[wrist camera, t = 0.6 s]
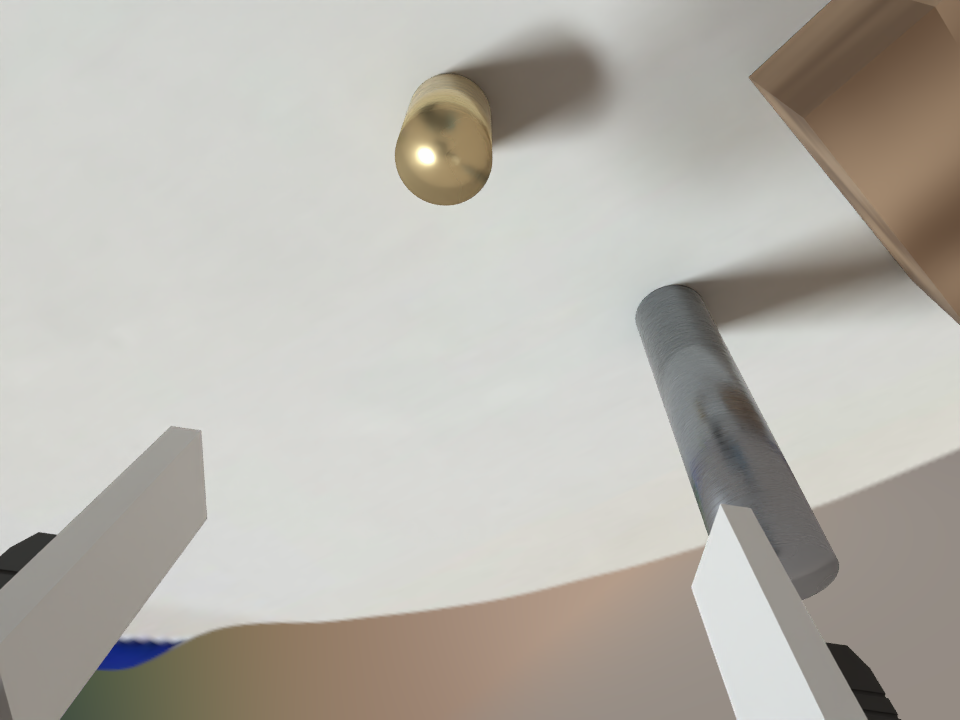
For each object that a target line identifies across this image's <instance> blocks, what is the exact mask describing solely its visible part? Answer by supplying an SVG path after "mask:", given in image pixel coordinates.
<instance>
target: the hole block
mask: <svg viewBox="0 0 960 720" xmlns="http://www.w3.org/2000/svg"><path fill="white" fill-rule="evenodd" d="M749 79H750V80H751V81H752V82H753V83H754V85H755V86H756V87H757V88H758V90H759V91H760V92H761V93H762V95H763V96H764V97H765V98H766V100H767V101H768V102H769V103H770V105H771V106H772V107H773V108H774V110H775V111H776V112H777V113H778V115H779V116H780V117H781V118H782V120H783V121H784V122H785V123H786V124H787V126H788V127H789V128H790V129H791V131H792V132H793V133H794V134H795V136H796V137H797V138H798V139H799V141H800V142H801V143H802V144H803V146H804V147H805V148H806V149H807V151H808V152H809V153H810V154H811V156H812V157H813V158H814V159H815V161H816V162H817V163H818V164H819V165H820V167H821V168H822V169H823V170H824V172H825V173H826V174H827V175H828V177H829V178H830V179H831V180H832V182H833V183H834V184H835V185H836V187H837V188H838V189H839V190H840V192H841V193H842V194H843V195H844V197H845V198H846V199H847V200H848V202H849V203H850V204H851V205H852V206H853V208H854V209H855V210H856V211H857V213H858V214H859V215H860V216H861V218H862V219H863V220H864V221H865V223H866V224H867V225H868V226H869V228H870V229H871V230H872V231H873V233H874V234H875V235H876V236H877V238H878V239H879V240H880V241H881V242H882V244H883V245H884V246H885V247H886V249H887V250H888V251H889V252H890V254H891V255H892V256H893V257H894V259H895V260H896V261H897V262H898V264H899V265H900V266H901V267H902V269H903V270H904V271H905V272H906V274H907V275H908V276H909V277H910V279H911V280H912V281H913V282H914V283H915V284H916V285H917V286H919V287H920V288H921V289H922V290H923V291H924V292H925V293H926V294H927V295H928V296H929V297H930V298H931V299H933V300H934V301H935V302H936V303H937V304H938V305H939V306H940V307H941V308H942V309H943V310H944V311H945V312H946V313H948V314H949V315H950V316H951V317H952V318H953V319H954V320H955V321H956V322H957V323H958V324H959V325H960V0H831V1H830V2H829V3H828V4H827V5H826V6H825V7H824V8H823V9H822V10H821V11H820V12H819V13H817V14H816V15H815V16H814V17H813V18H812V19H811V20H810V21H809V22H808V23H807V24H806V25H805V26H803V27H802V28H801V29H800V30H799V31H798V32H797V33H796V34H795V35H794V36H793V37H792V38H790V39H789V40H788V41H787V42H786V43H785V44H784V45H783V46H782V47H781V48H780V49H779V50H778V51H776V52H775V53H774V54H773V55H772V56H771V57H770V58H769V59H768V60H767V61H766V62H765V63H763V64H762V65H761V66H760V67H759V68H758V69H757V70H756V71H755V72H754V73H753V74H752V75H751V76H749Z"/></svg>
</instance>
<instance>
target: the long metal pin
mask: <svg viewBox="0 0 960 720" xmlns="http://www.w3.org/2000/svg"><path fill="white" fill-rule="evenodd" d="M635 320H636V325H637V328H638V331H639V334H640V337H641V340H642V343H643V346H644V349H645V352H646V355H647V357H648V360H649V363H650V366H651V369H652V372H653V375H654V378H655V381H656V384H657V387H658V390H659V393H660V395H661V398H662V401H663V404H664V407H665V410H666V413H667V416H668V419H669V422H670V425H671V428H672V431H673V433H674V436H675V439H676V442H677V445H678V448H679V451H680V454H681V457H682V460H683V463H684V466H685V469H686V471H687V474H688V477H689V480H690V483H691V486H692V489H693V492H694V495H695V498H696V501H697V504H698V507H699V509H700V512H701V515H702V518H703V521H704V524H705V527H706V530H707V533H708V536H709V535H710V532H711V529H712V526H713V523H714V520H715V518H716V515H717V512H718V509H719V506H720V504H726V505H733V506H740V507H747V508H751V509H752V511H753V513H754V515H755V517H756V518H757V520H758V522H759V524H760V526H761V528H762V529H763V531H764V533H765V535H766V537H767V538H768V540H769V542H770V544H771V546H772V547H773V549H774V551H775V553H776V555H777V556H778V558H779V560H780V562H781V564H782V565H783V567H784V569H785V571H786V573H787V575H788V576H789V578H790V580H791V582H792V584H793V585H794V587H795V589H796V591H797V593H798V594H799V596H800V598H801V600H804V599H806V598H809V597H811V596H813V595H815V594H817V593H818V592H820V591H822V590H823V589H824V588H826V587H827V586H828V585H829V584H830V583H831V582H832V581H833V580H834V579H835V577H836V576H837V573H838V570H839V562H838V559H837V558H836V556H835V554H834V552H833V550H832V548H831V546H830V544H829V542H828V540H827V539H826V536H825V535H824V533H823V531H822V529H821V527H820V525H819V523H818V521H817V519H816V517H815V516H814V513H813V511H812V510H811V508H810V506H809V504H808V502H807V500H806V498H805V496H804V494H803V492H802V490H801V488H800V487H799V485H798V483H797V481H796V479H795V477H794V475H793V473H792V471H791V469H790V467H789V465H788V463H787V462H786V460H785V458H784V456H783V454H782V452H781V450H780V448H779V446H778V444H777V442H776V440H775V438H774V437H773V435H772V433H771V431H770V429H769V427H768V425H767V423H766V421H765V419H764V417H763V415H762V414H761V412H760V410H759V408H758V406H757V404H756V402H755V400H754V398H753V396H752V394H751V392H750V390H749V389H748V387H747V385H746V383H745V381H744V379H743V377H742V375H741V373H740V371H739V369H738V367H737V365H736V364H735V362H734V360H733V358H732V356H731V354H730V352H729V350H728V348H727V346H726V344H725V342H724V341H723V339H722V337H721V335H720V333H719V331H718V329H717V327H716V325H715V323H714V321H713V319H712V317H711V316H710V314H709V312H708V310H707V308H706V306H705V304H704V302H703V300H702V298H701V297H700V295H699V294H698V293H697V292H696V291H694V290H693V289H691V288H689V287H685V286H680V285H672V286H666V287H662V288H660V289H657V290H655V291H653V292H652V293H650V294H649V295H648V296H646V297H645V298H644V299H643V301H642V302H641V303H640V305H639V307H638V309H637V311H636V317H635Z"/></svg>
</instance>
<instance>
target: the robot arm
mask: <svg viewBox="0 0 960 720" xmlns="http://www.w3.org/2000/svg"><path fill="white" fill-rule="evenodd" d="M206 519H207V510H206V495H205V480H204V465H203V450H202V435H201V430H194V429H187V428H180V427H173V426H171V427H170V428H169V429H168V430H167V431H166V432H164V433H163V434H162V435H161V436H160V437H159V438H158V439H157V440H156V441H155V442H154V443H153V444H152V445H151V446H150V447H149V448H148V449H147V450H146V451H145V452H144V453H143V454H141V455H140V456H139V457H138V458H137V459H136V460H135V461H134V462H133V463H132V464H131V465H130V466H129V467H128V468H127V469H126V470H125V471H124V472H123V473H122V474H121V475H120V476H118V477H117V478H116V479H115V480H114V481H113V482H112V483H111V484H110V485H109V486H108V487H107V488H106V489H105V490H104V491H103V492H102V493H101V494H100V495H99V496H98V497H96V498H95V499H94V500H93V501H92V502H91V503H90V504H89V505H88V506H87V507H86V508H85V509H84V510H83V511H82V512H81V513H80V514H79V515H78V516H77V517H76V518H75V519H73V520H72V521H71V522H70V523H69V524H68V525H67V526H66V527H65V528H64V529H63V530H62V531H61V532H60V533H59V534H58V535H54V534H47V533H40V532H38V533H36V534H35V535H33V536H31V537H29V538H27V539H25V540H23V541H22V542H20V543H18V544H16V545H14V546H12V547H10V548H9V549H8V550H7V551H6V552H5V553H3V554H2V555H1V556H0V720H59V719H60V718H61V717H62V715H63V714H64V713H65V711H66V710H67V709H68V707H69V706H70V704H71V703H72V702H73V700H74V699H75V698H76V696H77V695H78V694H79V692H80V691H81V690H82V688H83V687H84V685H85V684H86V683H87V681H88V680H89V679H90V677H91V676H92V675H93V673H94V672H95V671H96V669H97V668H98V666H99V665H100V664H101V662H102V661H103V660H104V658H105V657H106V656H107V654H108V653H109V651H110V650H111V649H112V647H113V646H114V645H115V643H116V642H117V641H118V639H119V638H120V637H121V635H122V634H123V632H124V631H125V630H126V628H127V627H128V626H129V624H130V623H131V622H132V620H133V619H134V617H135V616H136V615H137V613H138V612H139V611H140V609H141V608H142V607H143V605H144V604H145V602H146V601H147V600H148V598H149V597H150V596H151V594H152V593H153V592H154V590H155V589H156V588H157V586H158V585H159V583H160V582H161V581H162V579H163V578H164V577H165V575H166V574H167V573H168V571H169V570H170V568H171V567H172V566H173V564H174V563H175V562H176V560H177V559H178V558H179V556H180V555H181V554H182V552H183V551H184V549H185V548H186V547H187V545H188V544H189V543H190V541H191V540H192V539H193V537H194V536H195V534H196V533H197V532H198V530H199V529H200V528H201V526H202V525H203V524H204V522H205V521H206ZM691 588H692V591H693V594H694V597H695V600H696V603H697V606H698V608H699V611H700V614H701V617H702V620H703V623H704V626H705V629H706V632H707V634H708V638H709V640H710V643H711V646H712V649H713V652H714V655H715V658H716V661H717V664H718V666H719V669H720V672H721V675H722V678H723V681H724V684H725V687H726V690H727V692H728V695H729V698H730V701H731V704H732V707H733V710H734V713H735V716H736V719H737V720H901V719H898V717H897V715H898V714H897V712H896V710H895V709H894V707H893V705H892V704H891V702H890V700H889V699H888V698H886V697H885V692H884V691H883V689H882V687H881V686H880V684H879V682H878V681H877V679H876V677H875V676H874V674H873V673H872V671H871V669H870V668H869V667H868V666H867V665H866V664H865V663H864V662H863V661H862V660H861V659H860V658H859V657H858V656H857V655H856V654H855V653H854V652H853V651H852V650H851V649H850V648H849V647H848V646H846V645H839V644H831V643H825V641H824V640H823V638H822V636H821V634H820V632H819V631H818V629H817V627H816V625H815V623H814V622H813V620H812V618H811V616H810V614H809V613H808V611H807V609H806V607H805V605H804V604H803V602H802V600H801V598H800V596H799V594H798V593H797V591H796V589H795V587H794V585H793V584H792V582H791V580H790V578H789V576H788V575H787V573H786V571H785V569H784V567H783V565H782V564H781V562H780V560H779V558H778V556H777V555H776V553H775V551H774V549H773V547H772V546H771V544H770V542H769V540H768V538H767V537H766V535H765V533H764V531H763V529H762V528H761V526H760V524H759V522H758V520H757V518H756V517H755V515H754V513H753V511H752V509H751V508H747V507H740V506H733V505H726V504H720V506H719V509H718V512H717V515H716V518H715V520H714V523H713V526H712V529H711V532H710V535H709V538H708V541H707V543H706V546H705V549H704V552H703V555H702V558H701V561H700V564H699V566H698V569H697V572H696V575H695V578H694V581H693V584H692V587H691Z"/></svg>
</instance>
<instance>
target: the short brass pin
mask: <svg viewBox="0 0 960 720" xmlns="http://www.w3.org/2000/svg"><path fill="white" fill-rule="evenodd" d="M395 162H396V167H397V171H398V174H399V176H400V178H401V180H402V181H403V183H404V184H405V186H406V187H407V188H408V189H409V190H410V191H411V192H412V193H413V194H414V195H416V196H417V197H418V198H420V199H422V200H424V201H426V202H429V203H432V204H436V205H455V204H459V203H462V202H465V201H467V200H469V199H470V198H472V197H473V196H475V195H476V194H477V193H478V192H479V191H480V190H481V189H482V188H483V186H484V185H485V183H486V182H487V180H488V178H489V175H490V172H491V167H492V128H491V110H490V106H489V103H488V100H487V98H486V96H485V94H484V93H483V91H482V90H481V89H480V88H479V87H478V86H477V85H476V84H475V83H474V82H473V81H471V80H469V79H468V78H466V77H463V76H460V75H456V74H440V75H437V76H434V77H431V78H430V79H428V80H426V81H425V82H424V83H422V84H421V85H420V86H419V87H418V89H417V90H416V91H415V93H414V95H413V97H412V99H411V102H410V105H409V108H408V111H407V114H406V117H405V119H404V122H403V125H402V128H401V131H400V134H399V137H398V140H397V144H396V148H395Z"/></svg>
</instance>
